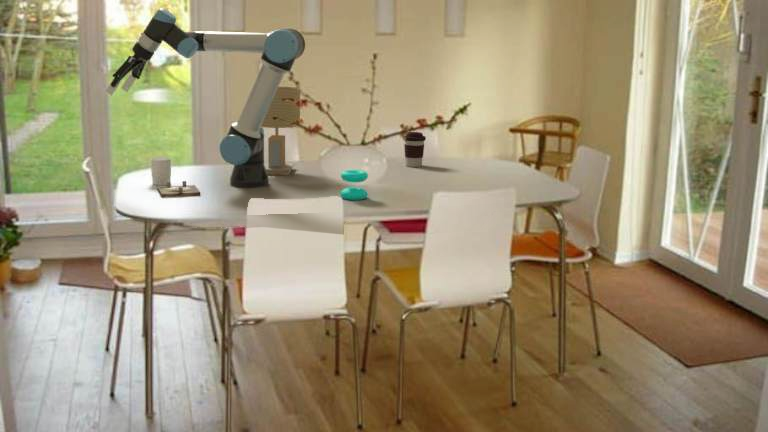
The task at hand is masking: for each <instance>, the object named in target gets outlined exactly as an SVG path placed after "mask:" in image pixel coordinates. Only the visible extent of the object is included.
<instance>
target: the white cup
mask: <svg viewBox="0 0 768 432" xmlns="http://www.w3.org/2000/svg"><path fill="white" fill-rule="evenodd" d="M150 172H151V178H152V179H151V180H152V184H153V185H155V186H167V182H171V179H172V178H171V177H172V175H171V174H172V158H171V157H169V156H155V157H150Z"/></svg>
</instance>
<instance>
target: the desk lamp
mask: <svg viewBox="0 0 768 432" xmlns="http://www.w3.org/2000/svg"><path fill="white" fill-rule="evenodd" d="M283 98H293V99H294V100H295V101H300V102H301V88H298V87H293V86H279V87H278V89H277V91H276V93H275V96H274V98H273V100H272V102H271V105H270V107H269V109H268V111H267V114H266V116H265V118H264V120H263V122H262V125H261V127H262V128H272V129H275V130H274V134H272V135H271V136H269V137H268V138H267V139H268V140H267V141H268V143H267V144H268V147H267V151H268V155H267V157H268V158H267V159H268V162H264V166H265V169H266V172H267V175H275V176H276V175H279V176H280V175H283V176H286V175H287V176H288V175H290V173H291V172H292V170H293V168H294V166H295V165H296V164H295V163H292V162H291V163H289V162H287V163H286V135H285V134H284V135H282V134H280V135H279V129H280V128H281V129H285V128H294V127H295V128H296V127H297V126H291V125H290V124H289V123H287V122H290V123H291V122H294V121H295V120H297V119H300V120H301V106H300V107H297V106H296V105H295V104H294V103H292V102H290V101H281V99H283ZM272 117H281V118H282V119H284V120H285V121H287V122H284V121H281V120H278V119H277V120H273V118H272Z"/></svg>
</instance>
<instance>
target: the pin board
mask: <svg viewBox="0 0 768 432" xmlns="http://www.w3.org/2000/svg"><path fill="white" fill-rule="evenodd" d="M171 184H172V183H171V181H170V182H167V185H162V186H157V189H156V190H157V191H158V193H159V195H160V197H161V198H175V197H196V196H201V191H200V190H199V188H198V187H197V186H196V185H194V184H189V185H187V181H186V180H182V185H173V186H172V185H171Z"/></svg>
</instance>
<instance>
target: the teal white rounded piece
mask: <svg viewBox="0 0 768 432" xmlns="http://www.w3.org/2000/svg"><path fill="white" fill-rule="evenodd" d="M340 177H341V179H342V180H343V181H344V182H346V183H347V182H348V183H362V182H365V181H366V180H367V179H368V178H369V174H368V173H367V172H366V171H365V170H361V169H346V170H344V171H343V170H342V172H341V173H340ZM340 196H341V198H342V199H344V200H346V201H347V200H349V201H361V200H365V199H366V198H367V197H368V191H367V190H366V189H365V188H361V187H357V186H355V187H354V186H353V187H351V186H350V187H346V188H344V189H342V190H341V192H340Z"/></svg>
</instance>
